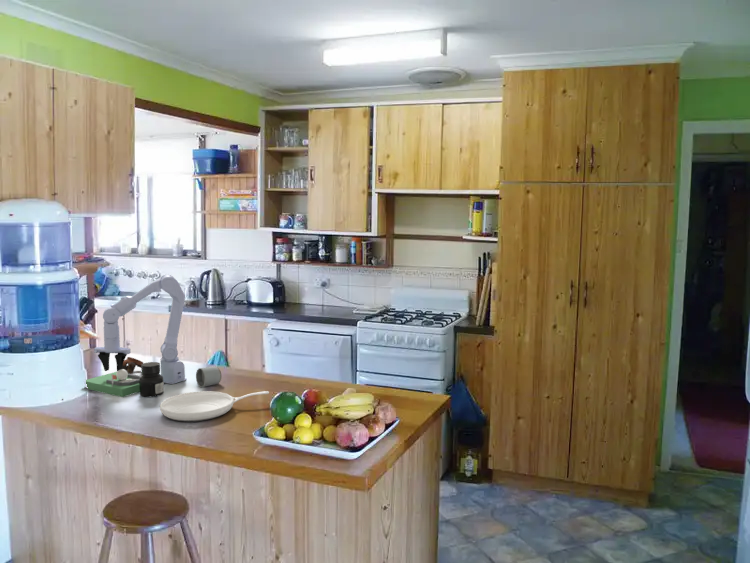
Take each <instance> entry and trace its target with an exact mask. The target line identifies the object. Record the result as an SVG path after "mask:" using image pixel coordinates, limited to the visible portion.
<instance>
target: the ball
mask: <svg viewBox="0 0 750 563" xmlns="http://www.w3.org/2000/svg"><path fill="white" fill-rule="evenodd" d="M116 372H117V373H116V376H117V379H119V380H125V379H126V378H127V377H128V372H127V371H126V370H124V369H120V370H119V371H117V370H116Z"/></svg>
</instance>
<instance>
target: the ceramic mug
mask: <svg viewBox="0 0 750 563" xmlns="http://www.w3.org/2000/svg"><path fill="white" fill-rule="evenodd" d="M195 380H196V383H197V385H198V386H199V387H200V388H205V387H209V386H214V385H218V384H219V383H221V381H222V372H221V369H220V368H219V367H218V366H209V367H199V368H197V369H196V373H195Z"/></svg>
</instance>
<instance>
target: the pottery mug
mask: <svg viewBox="0 0 750 563" xmlns="http://www.w3.org/2000/svg"><path fill="white" fill-rule="evenodd" d="M126 357H127V358H125V359H124V362H123V365H122V369H124V370H126V371H127V372H128V374H133V373H134V371H135V368H136V367H137V368H141V365H142V364H144V362H143V361H141V360H140V359H137V358H135V357H131V356H126ZM133 375H134V374H133Z"/></svg>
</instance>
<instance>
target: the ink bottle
mask: <svg viewBox="0 0 750 563" xmlns="http://www.w3.org/2000/svg"><path fill="white" fill-rule="evenodd" d="M140 371H142V372H141V376H142V377H140V379H139V390H140V392H139V396H141V397H142V398H155V397H159V396H162V395H163V394H164V393H165V386H164V385H165V384H164V382H163V376H162V375H161V362H157V361H149V362H143V364H142V365H141V370H140Z"/></svg>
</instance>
